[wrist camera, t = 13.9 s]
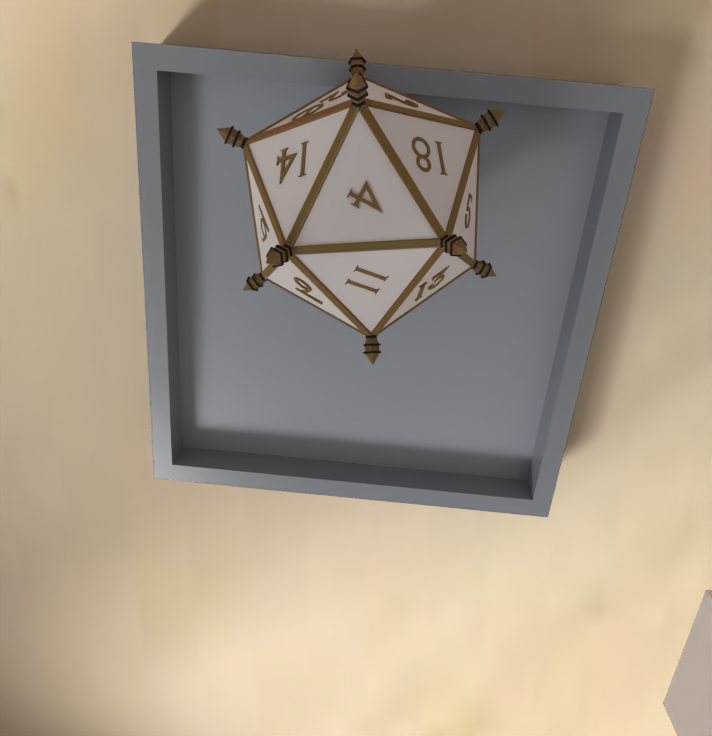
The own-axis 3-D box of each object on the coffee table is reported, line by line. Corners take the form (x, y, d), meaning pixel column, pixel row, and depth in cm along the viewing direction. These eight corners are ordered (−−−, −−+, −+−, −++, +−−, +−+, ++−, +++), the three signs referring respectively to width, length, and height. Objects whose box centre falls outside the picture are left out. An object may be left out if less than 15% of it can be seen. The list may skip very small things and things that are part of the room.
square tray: (174, 443, 32) (154, 478, 29) (160, 43, 25) (131, 41, 22) (534, 478, 32) (547, 517, 29) (625, 86, 25) (654, 89, 22)
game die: (291, 431, 23) (225, 255, 14) (229, 246, 27) (146, 17, 18) (527, 347, 24) (604, 135, 15) (435, 181, 28) (453, -67, 19)
